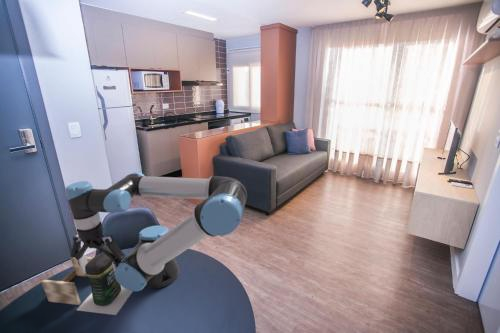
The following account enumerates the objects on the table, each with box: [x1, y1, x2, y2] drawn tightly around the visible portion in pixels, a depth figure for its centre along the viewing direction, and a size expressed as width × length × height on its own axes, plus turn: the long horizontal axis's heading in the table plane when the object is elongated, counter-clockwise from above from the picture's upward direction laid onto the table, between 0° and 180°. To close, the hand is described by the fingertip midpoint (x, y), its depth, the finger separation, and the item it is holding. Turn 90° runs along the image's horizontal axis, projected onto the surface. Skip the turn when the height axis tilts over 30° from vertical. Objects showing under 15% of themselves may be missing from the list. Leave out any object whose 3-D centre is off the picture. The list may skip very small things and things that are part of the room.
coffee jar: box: [85, 251, 121, 306], centre depth 94 cm, size 10×8×19 cm
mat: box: [76, 285, 134, 316], centre depth 97 cm, size 16×14×1 cm
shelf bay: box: [40, 256, 95, 306], centre depth 100 cm, size 14×14×10 cm
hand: (102, 272), depth 93 cm, fingers open, 13 cm apart
